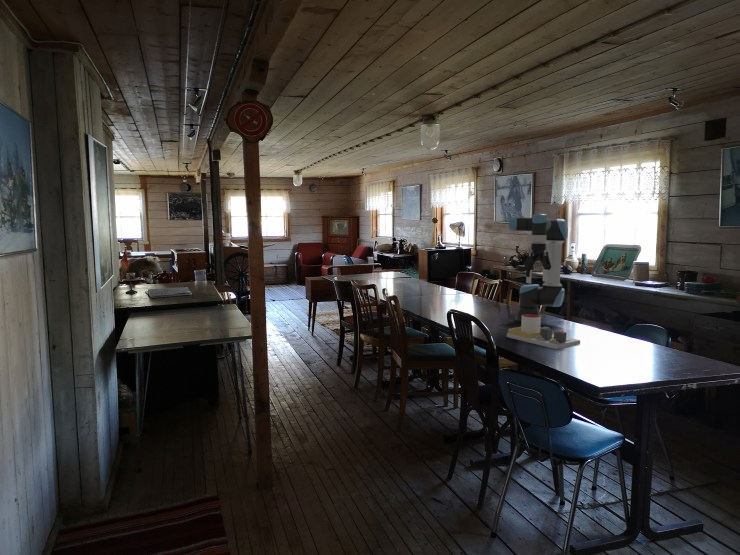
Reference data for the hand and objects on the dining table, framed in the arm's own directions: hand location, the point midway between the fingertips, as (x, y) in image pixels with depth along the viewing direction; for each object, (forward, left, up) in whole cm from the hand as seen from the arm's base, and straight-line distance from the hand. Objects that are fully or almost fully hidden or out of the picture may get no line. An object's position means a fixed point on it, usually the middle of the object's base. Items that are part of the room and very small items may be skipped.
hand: (536, 282), depth 285 cm
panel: (+1, +6, -31) cm, 31 cm away
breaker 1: (+4, +10, -28) cm, 31 cm away
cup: (+1, -2, -29) cm, 29 cm away
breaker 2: (+4, +19, -28) cm, 34 cm away
